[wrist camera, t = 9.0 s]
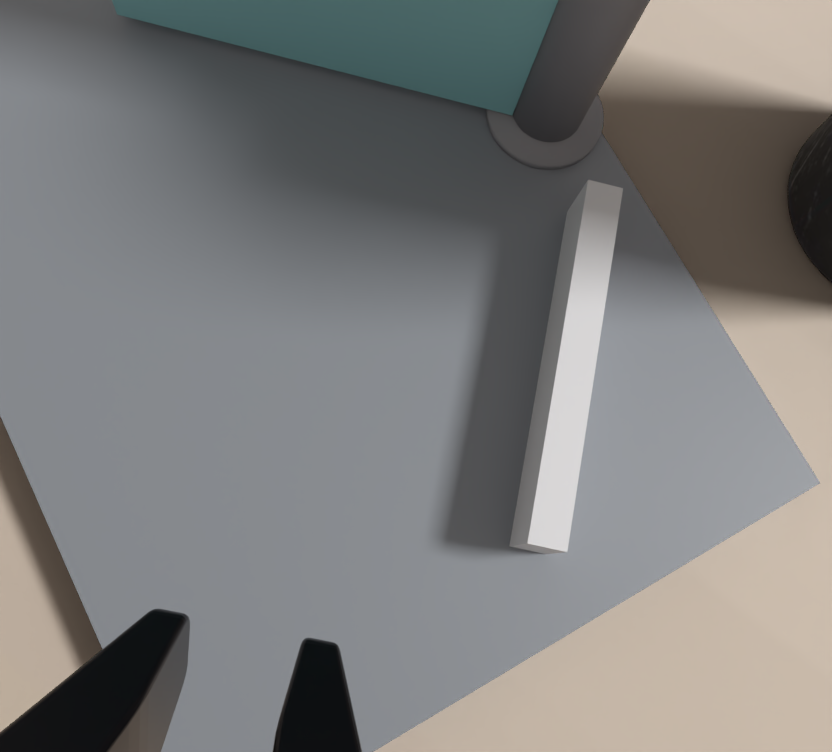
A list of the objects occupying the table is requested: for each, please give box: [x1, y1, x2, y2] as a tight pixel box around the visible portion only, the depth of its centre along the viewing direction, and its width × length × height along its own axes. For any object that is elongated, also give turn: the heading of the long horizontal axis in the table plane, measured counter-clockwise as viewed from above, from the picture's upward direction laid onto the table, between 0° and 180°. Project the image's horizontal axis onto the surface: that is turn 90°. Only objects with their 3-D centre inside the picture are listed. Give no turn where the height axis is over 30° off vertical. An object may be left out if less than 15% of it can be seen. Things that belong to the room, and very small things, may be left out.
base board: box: [0, 0, 820, 752], centre depth 22 cm, size 19×24×3 cm
